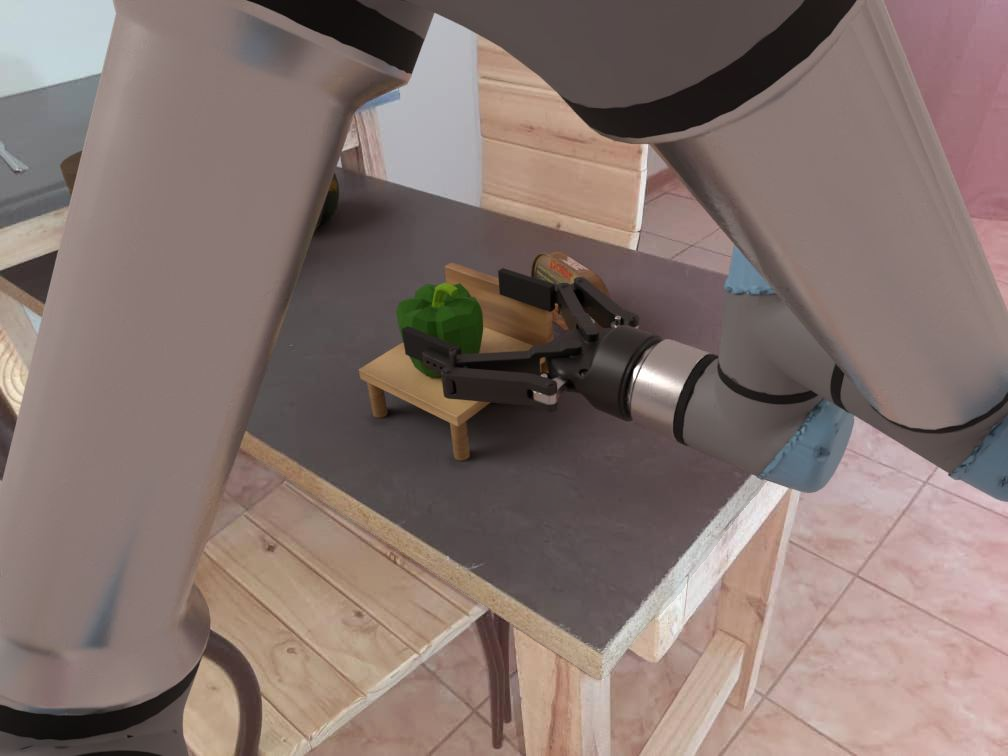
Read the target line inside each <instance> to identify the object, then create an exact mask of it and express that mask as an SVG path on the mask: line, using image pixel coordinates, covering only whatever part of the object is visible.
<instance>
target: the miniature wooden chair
mask: <svg viewBox="0 0 1008 756" xmlns="http://www.w3.org/2000/svg"><path fill="white" fill-rule="evenodd" d="M444 273H445V283H448V284H452V285H454V284H459V283H460V284H461V285H462V286H463V287H464V288H465V289H466V290H468V292H469V294H470V295H471V297H475V298H476V300H477V301H478V303H479V304H480V306H481V309H482V315H483V335H482V341H481V347H480V351H479V353H494V352H512V351H528V350H530V348H531V347H532V346H534V345H546V344H548V343H549V342H550V341H552V340H554V326H553V325H554V324H553V322H554V321H553V318H552V312H549V311H546V310H543V309H540V308H537V307H534V306H532V305H529V304H526V303H523V302H520V301H517V300H514V299H511V298H508V297H506V296H503V295H500V292H499V277H496V276H493V275H491V274H487V273H485V272H482V271H479V270H475V269H473V268H470V267H467V266H463V265H461V264H458V263H455V262H450V263H448V264H446V265H445V266H444ZM540 372H541V373H549V372H548V370H547V368H546V366H545V357H543V358H541V359H540ZM358 374H359V378H360V380H362V381H365V382H366V386H367V391H368V396H369V401H370V406H371V411H372V416H373V417H374V418H376V419H382V418H385V417H386V416H388V413H389V412H388V407H387V406H388V405H387V401H386V395H385V392H387V393H388V394H390V395H392V396H395V397H397V398H399V399H400V400H403V401H405V402H407V403H409V404H411V405H413V406H415V407H416V408H419V409H421V410H423V411H425V412H427V413H429V414H431V415H433V416H435V417H437V418H439V419H440V420H443V421H445V422H447V423H449V427H450V428H449V429H450V436H451V443H452V444H451V445H452V453H453V458H454V459H455V460H456V461H459V462H464V461H466V460H468V459H469V458H470V456H471V453H470V443H469V435H468V434H469V433H468V424H467V421H468V420H469V419H471V418H473V416H475V415H476V414H477V413H478V412H480V411H482V410H483V409H484V408H485V407H486V406H487V405H489V404H491V402H481V401H469V400H458V399H448V398H445V397H444V393H443V386H442V378H441V375H440V376H438V377H428V376H426V375H425V374H423V373H422V372H420V371H419V370H418V369H417V368H415V367H414V365H413V363H412V361H411V359H410V357H409V356H408V355H406V354H405V348H404V343H403V341H402V342H401V343H399V344H397V345H396V346H394V347H393V348H391V349H390V350H388V351H386V352H385V353H383V354H381V355H380V356H378V357H376V358H375V359H373V360H372V361H370V362H368V363H367V364H364V365H363V366H362V367H360V368H359V369H358Z"/></svg>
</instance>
